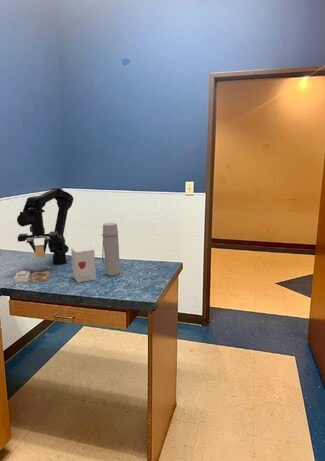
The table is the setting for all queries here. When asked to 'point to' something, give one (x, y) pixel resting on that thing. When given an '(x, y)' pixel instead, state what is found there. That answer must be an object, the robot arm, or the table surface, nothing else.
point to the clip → (22, 277)
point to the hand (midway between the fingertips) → (40, 252)
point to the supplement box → (83, 263)
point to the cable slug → (22, 273)
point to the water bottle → (111, 249)
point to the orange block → (39, 251)
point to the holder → (40, 277)
